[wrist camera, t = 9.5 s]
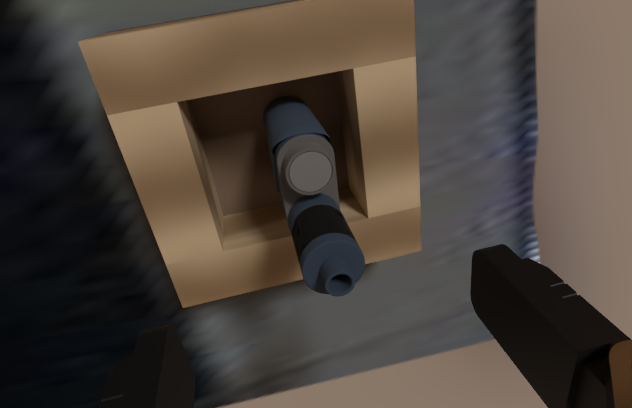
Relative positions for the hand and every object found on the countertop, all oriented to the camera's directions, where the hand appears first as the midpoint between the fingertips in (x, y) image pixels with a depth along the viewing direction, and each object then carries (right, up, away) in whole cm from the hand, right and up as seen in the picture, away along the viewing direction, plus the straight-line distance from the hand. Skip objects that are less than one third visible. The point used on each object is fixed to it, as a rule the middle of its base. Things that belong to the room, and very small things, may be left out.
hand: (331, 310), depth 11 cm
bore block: (-3, +7, +14) cm, 16 cm away
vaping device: (-2, +7, +13) cm, 15 cm away
